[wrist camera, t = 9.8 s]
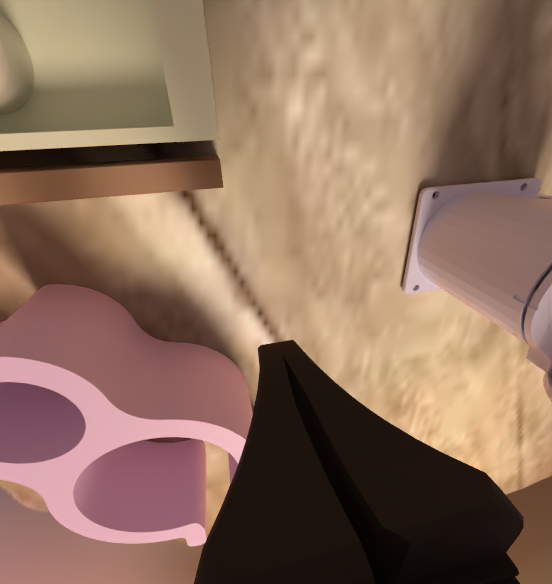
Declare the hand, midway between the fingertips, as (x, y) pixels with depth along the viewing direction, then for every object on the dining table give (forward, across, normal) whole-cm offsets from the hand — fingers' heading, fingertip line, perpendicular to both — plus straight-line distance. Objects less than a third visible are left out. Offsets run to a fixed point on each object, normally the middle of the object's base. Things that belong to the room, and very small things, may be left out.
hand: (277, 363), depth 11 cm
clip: (+10, +8, +9) cm, 16 cm away
